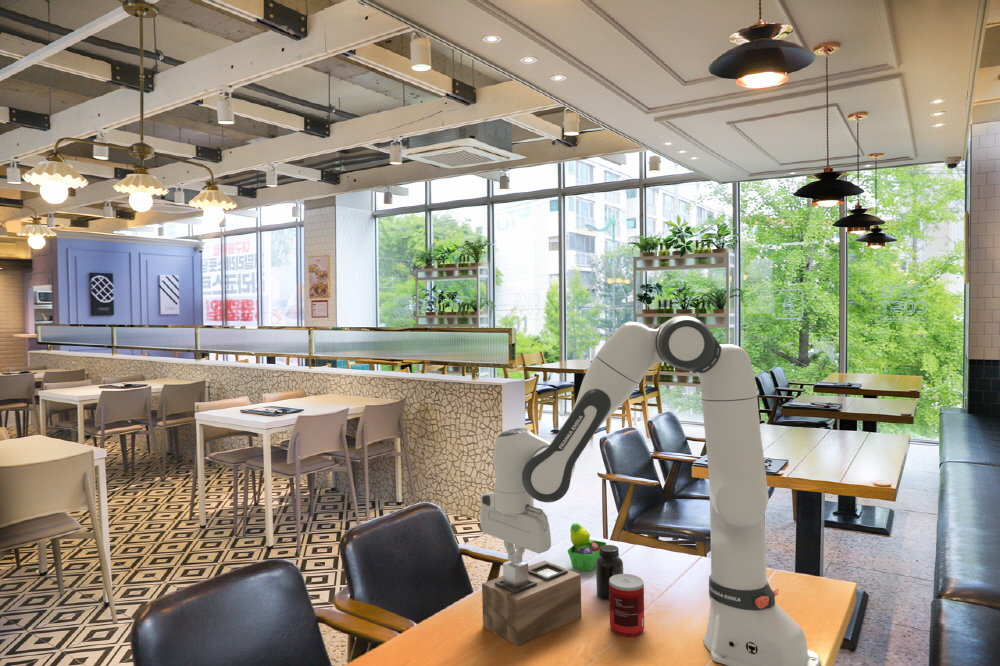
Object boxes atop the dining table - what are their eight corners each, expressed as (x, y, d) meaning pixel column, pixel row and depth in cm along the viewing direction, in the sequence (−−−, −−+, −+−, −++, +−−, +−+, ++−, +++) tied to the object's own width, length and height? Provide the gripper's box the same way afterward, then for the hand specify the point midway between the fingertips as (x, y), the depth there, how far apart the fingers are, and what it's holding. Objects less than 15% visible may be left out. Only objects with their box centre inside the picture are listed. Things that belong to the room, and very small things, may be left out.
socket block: (581, 616, 155) (580, 571, 155) (518, 646, 142) (517, 597, 142) (545, 600, 164) (544, 558, 164) (482, 626, 151) (481, 580, 151)
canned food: (631, 618, 154) (631, 571, 153) (651, 633, 146) (651, 584, 146) (603, 624, 151) (602, 576, 151) (621, 640, 143) (620, 590, 143)
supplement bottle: (622, 589, 169) (622, 543, 169) (625, 601, 163) (624, 553, 162) (595, 589, 170) (594, 542, 170) (596, 600, 163) (596, 552, 163)
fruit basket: (592, 574, 180) (591, 532, 180) (562, 568, 185) (561, 528, 184) (608, 560, 190) (607, 521, 189) (579, 554, 194) (579, 516, 194)
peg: (528, 602, 149) (527, 563, 149) (515, 608, 147) (514, 568, 146) (516, 597, 152) (516, 558, 152) (503, 602, 150) (502, 563, 149)
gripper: (557, 507, 143) (558, 570, 143) (495, 489, 158) (496, 546, 159) (536, 513, 139) (537, 579, 139) (475, 494, 154) (476, 553, 155)
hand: (515, 561), depth 149 cm, fingers closed
